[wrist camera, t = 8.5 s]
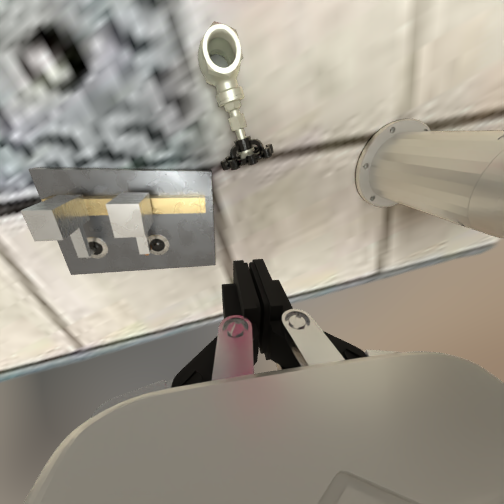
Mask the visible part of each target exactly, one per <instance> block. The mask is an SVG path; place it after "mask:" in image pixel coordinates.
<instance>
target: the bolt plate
mask: <svg viewBox="0 0 504 504" xmlns="http://www.w3.org/2000/svg"><path fill="white" fill-rule="evenodd" d="M29 171H30V174H31V176H32V179H33V181H34V184H35V186H36V189H37V191H38V194H39V196H40V199H41V201H42V202H40V203H38V204H36V205H33V206H31V207H28V208H26V209H24V210H21V212H22V214H23V217H24V219H25V221H26V223H27V225H28V228H29V230H30V232H31V234H32V236H33V239H34V241H53V240H57V241H58V243H59V246H60V248H61V251H62V253H63V256H64V258H65V261H66V263H67V266H68V268H69V271H70V273H71V275H76V274H91V273H105V272H120V271H135V270H150V269H164V268H179V267H194V266H209V265H215V246H214V222H213V198H212V174H211V170H177V169H110V168H44V167H37V168H32V169H29ZM122 192H149V195H150V201H151V207H152V213H153V219H154V222H153V224H152V225H151V227H150V229H149V231H148V238H149V244H150V245H152V249H151V252H150V254H149V255H144V254H140V253H139V249H138V244H137V240H136V237H127V238H115V237H114V234H113V230H112V226H111V223H110V219H109V215H108V211H107V208H106V204H107V203H108V202H109V201H111V200H112V199H113V198H115V197H116V196H117V195H119V194H120V193H122Z"/></svg>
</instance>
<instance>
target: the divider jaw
mask: <svg viewBox="0 0 504 504" xmlns="http://www.w3.org/2000/svg"><path fill="white" fill-rule="evenodd" d="M106 208H107V211H108V215H109V219H110V223H111V226H112V230H113V234H114V237H115V238H127V237H136V240H137V244H138V249H139V253H140V254H144V255H149V254H150V252H151V249H152V245H150V244H149V238H148V231H149V229H150V227H151V225H152V224H153V222H154V219H153V213H152V207H151V201H150V195H149V192H122V193H120V194H119V195H117V196H116V197H115V198H113V199H112V200H111V201H109V202H108V203H107V204H106Z"/></svg>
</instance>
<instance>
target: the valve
mask: <svg viewBox="0 0 504 504" xmlns="http://www.w3.org/2000/svg"><path fill="white" fill-rule="evenodd" d="M213 54H219V55H221V56H223V57H224V58H225V60H226V61H227V64H228V67H226V68H221V67H218V66H217V65H215V64H214V63H213V62H212V60H211V59H210V56H211V55H213ZM242 59H243V56H242V51H241V46H240V42H239V38H238V35H237V31H236V30H235V29H233V28H231V27H229V26H226V25H224V24H221V23H218V22H213V23H212V25H211V26H210V28H209V29H208V31H207V32H206V34H205V35H204V37H203V38H202V40H201V42H200V47H199V51H198V61H199V66H200V69H201V72H202V74H203V75H204V77H205V79H206V82H207V84H210V85H213V86H215V87H216V89H217V93H218V95H216V100H217V103H218V106H219V107H222V106H224V107H225V110H226V112H229V114H230V117H231V118H229V119H228V120H229V123H230V126H231V130H232V131H236V135H237V138H238V140H236V141H234V143H235V146H233V147H232V149H231V152H230V156H229V157H226V158H225V159H226V161H225V160H223V161H221V165H222V168H223V170H227V169H230V168H231V170H235V169H238V168H240V166H242V165H245V164H248V165H253V164H256V163H257V162H258V161H257V160H259V159H261V158H263V159H266V158H269V157H271V156H272V153H273V152H274V151H273V147H272V144H268V145H266V148H265V149H264V147H263V144H262V143H261V141H259V140H258V139H252V140H251V137H250V136H247V137H246V135H245V132H244V127H246V122H245V118H244V115H243V114H240V111H239V108H240V107H241V103H240V100H241V99H243V98H244V93H243V90H242V87H239V86H238V83H237V79H236V78H237V75H238V72H239V69H240V62H241V60H242ZM254 144H255V145H257V147H254V148H253V145H254ZM253 149H255V150H254V151H253ZM236 151H237V153H238V155H239V156H236ZM226 162H227V163H226Z"/></svg>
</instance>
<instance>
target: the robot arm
mask: <svg viewBox="0 0 504 504" xmlns="http://www.w3.org/2000/svg"><path fill="white" fill-rule="evenodd" d="M356 185H357V189H358V192H359V194H360V196H361V197H362V198H363V199H364V200H365V201H366V202H368V203H369V204H372V205H374V206H378V207H390V206H394V205H396V204H402V205H405V206H408V207H411V208H414V209H417V210H419V211H422V212H425V213H428V214H431V215H434V216H437V217H439V218H442V219H445V220H448V221H451V222H454V223H457V224H459V225H462V226H465V227H468V228H471V229H474V230H477V231H479V232H483V233H486V234H488V235H491V236H495V237H499V238H504V130H490V131H431V130H430V128H429V127H428V126H427V125H426V124H425V123H423V122H421V121H420V120H415V119H403V120H397V121H394V122H392V123H390V124H388V125H386V126H385V127H383V128H382V129H380V130H379V131H378V132H377V133H376V134H375V135H374V136H373V137H372V138H371V139H370V141H369V142H368V143H367V145H366V147H365V148H364V150H363V152H362V154H361V156H360V158H359V162H358V165H357V170H356ZM233 277H234V284H222V300H223V313H224V319H223V320H222V322H221V323H220V325H219V330H218V336H217V337H216V338H215V339H214V340H213V341H212V342H211V343H209V345H207V346H206V347H205V348H204V349H203V350H202V351H201V352H200V353H199V354H198V355H197V356H196V357H195V358H194V359H193V360H192V361H191V362H190V363H188V364H187V365H186V366H185V367H184V368H183V369H182V370H181V371H180V372H179V373H178V374H177V375H176V377H175V378H174V379H173V380H170V381H167V382H165V380H162V381H159V382H156V383H154V384H151V385H148V386H145V387H143V388H140V389H137V390H135V391H132V392H129V393H126V394H123V395H121V396H118V397H115V398H112V399H110V400H108V401H106V402H105V403H103V404H102V405H101V406H100V407H99V408H98V409H97V410H96V411H95V412H94V414H93V415H92V417H91V419H89V420H87V421H86V422H84V423H83V424H82V425H80V426H79V427H78V428H76V429H75V430H74V431H73V432H72V433H71V434H69V436H67V437H66V438H65V440H64V441H63V442H62V443H61V444H60V445H59V446H58V448H57V449H56V450H55V452H54V453H53V455H52V456H51V457H50V459H49V460H48V462H47V463H46V465H45V467H44V468H43V470H42V472H41V473H40V475H39V476H38V478H37V480H36V481H35V483H34V485H33V487H32V488H31V491H30V492H29V494H28V496H27V498H26V499H25V501H24V503H23V504H504V383H503V382H502V381H501V380H499V379H498V378H497V377H495V376H494V375H493V374H491V373H490V372H488V371H487V370H485V369H484V368H482V367H481V366H479V365H477V364H476V363H473V362H471V361H469V360H466V359H463V358H460V357H457V356H453V355H448V354H443V353H436V352H391V351H377V350H366V352H363V351H362V350H361V349H359V348H357V347H355V346H353V345H351V344H349V343H347V342H345V341H343V340H341V339H339V338H337V337H334V336H332V335H330V334H328V333H326V332H324V331H322V330H321V328H320V327H319V326H318V325H317V323H316V322H315V321H314V319H313V318H312V317H311V316H310V315H309V314H308V313H306V312H305V311H302V310H299V309H293V308H292V306H291V304H290V302H289V300H288V298H287V296H286V294H285V292H284V290H283V288H282V286H281V284H280V282H279V280H272V279H271V276H270V274H269V272H268V270H267V267H266V265H265V263H264V261H263V259H255V260H253V262H250V263H249V267H248V264H247V263H244V261H243V260H240V261H233ZM259 348H260V352H261V353H264V354H265V357H266V360H270V359H271V360H273V361H274V362H276V367H277V371H270V372H264V373H258V374H254V365H255V363H256V362H257V356H258V349H259Z"/></svg>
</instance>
